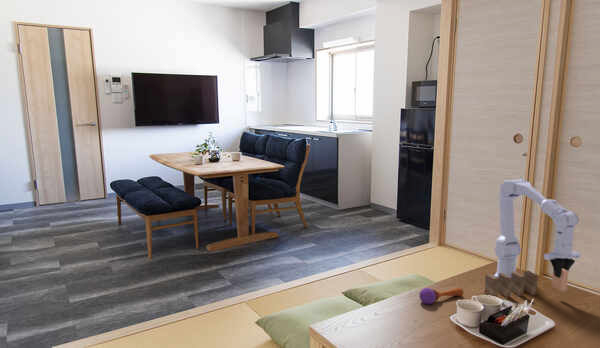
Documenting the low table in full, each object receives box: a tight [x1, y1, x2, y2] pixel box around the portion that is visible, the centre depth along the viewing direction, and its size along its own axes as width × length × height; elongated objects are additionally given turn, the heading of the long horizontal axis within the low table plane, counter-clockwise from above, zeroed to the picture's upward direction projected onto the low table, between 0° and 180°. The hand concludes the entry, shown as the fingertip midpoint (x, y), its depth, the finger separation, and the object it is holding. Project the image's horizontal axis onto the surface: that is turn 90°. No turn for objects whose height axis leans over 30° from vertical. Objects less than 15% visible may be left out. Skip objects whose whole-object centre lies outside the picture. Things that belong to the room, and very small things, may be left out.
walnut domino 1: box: [483, 273, 498, 298], centre depth 165 cm, size 2×5×8 cm, turn 11°
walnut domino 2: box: [497, 273, 512, 298], centre depth 166 cm, size 2×5×8 cm, turn 11°
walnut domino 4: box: [523, 270, 539, 295], centre depth 169 cm, size 2×5×8 cm, turn 12°
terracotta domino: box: [551, 268, 569, 292], centre depth 161 cm, size 2×5×8 cm, turn 12°
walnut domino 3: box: [510, 271, 525, 297], centre depth 167 cm, size 2×5×8 cm, turn 12°
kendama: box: [419, 287, 464, 305], centre depth 161 cm, size 6×6×20 cm
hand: (560, 276), depth 161 cm, fingers closed on terracotta domino, 2 cm apart
